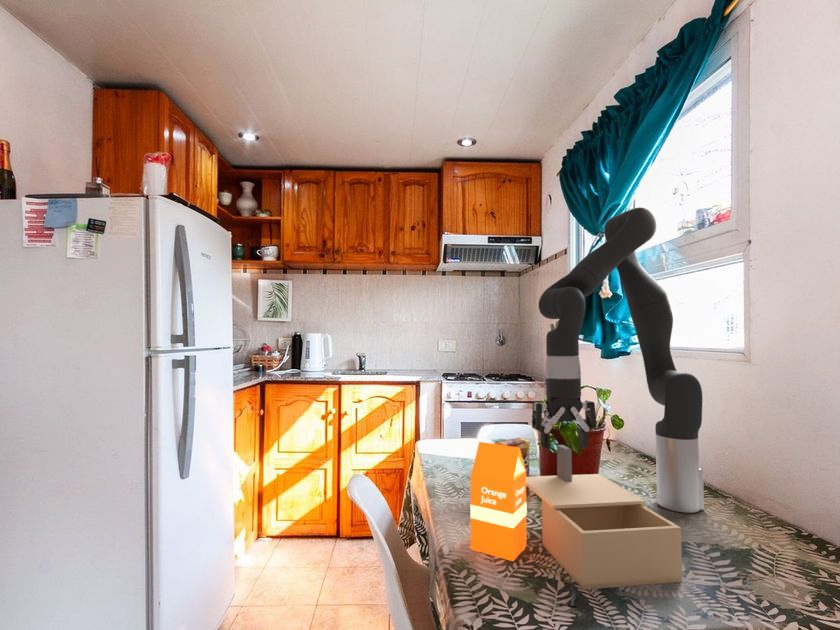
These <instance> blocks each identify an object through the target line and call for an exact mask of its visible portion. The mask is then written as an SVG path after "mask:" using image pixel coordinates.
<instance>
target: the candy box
mask: <svg viewBox="0 0 840 630" xmlns="http://www.w3.org/2000/svg"><path fill="white" fill-rule="evenodd" d="M494 444H498V445H505V446H512V447H519V448H520V452H521V455H522V459H523V462H524V466H525V470H526V477H530V451H531V450H530V448H531V447H530V446H531V445H530V440H528V439H526V438H520V437H517V438H511V439H505V440H499V441H498V440H496V441H494ZM529 500H530V488H529V487H527V486H526V502H528V501H529Z"/></svg>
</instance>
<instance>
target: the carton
mask: <svg viewBox="0 0 840 630" xmlns="http://www.w3.org/2000/svg"><path fill="white" fill-rule="evenodd" d="M541 536H542V537H541V543H542V544H541V545H542V546H543V547H544V548H545V549H546V551H548V552H549V554H550V555H551V556H552V557H553V558H554V559H555V560H556V561H557V562H558V564H559V565H560V567H562V568H563V569H564V570H565V571H566V573H568V575H569V576H570V577H571V578H572V579H573V580H574V581H575V583H576V584H577V585H578V586H579V587H580V588H581V590H594V589H608V588H619V587H620V588H621V587H633V586H645V585H646V586H647V585H658V584H660V585H661V584H670V583H672V584H673V583H674V584H675V583H683V567H682V566H683V563H682V562H683V561H682V555H683V554H682V527H681V526H679V525H677V524H675V523H674V522H672V521H671V520H669V519H667V518H665V517H663V516H661V515H660V514H658V513H657V512H656V511H653V510H652V509H650V508H648V507H646V506H645V505H644V504H636V505H616V506H596V507H576V508H556V509H553V508H552V507H550V506H549V505H548V504H547V503H546V502H545V501H544V500H542V499H541Z"/></svg>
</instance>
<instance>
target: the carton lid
mask: <svg viewBox="0 0 840 630" xmlns="http://www.w3.org/2000/svg"><path fill="white" fill-rule="evenodd" d="M572 455H573V453H572V449H571V448H570V447H568V446H566V445H564V444H557V445H556V466H557V467H556V472H557V475H540V476H539V475H538V476H537V475H535V476H529V477H526V486H527V487H529V490H531V491H532V492H533V493H535V495H537V496H538V497H539V498H540V499H541V501H542V500H544V501H545V502H546V503H547V504H548V505H549V506H550V507H552V508H553V509H556V508H576V507H596V506H616V505H636V504H641V505H646V504H647V501H646V500H645V499H643V498H642V497H640V496H638V495H636V494H634V493H632V492H631V491H629V490H628V489H625V488H623V487H622V486H621V485H618V484H617V483H615V482H613V481H611V480H609V479H608V478H606V477H604V476H602V475H601V474H599V473H593V474H592V473H590V474H586V473H585V474H573V465H572V464H573V462H572V460H573V459H572V457H573V456H572Z"/></svg>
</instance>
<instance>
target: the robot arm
mask: <svg viewBox="0 0 840 630" xmlns="http://www.w3.org/2000/svg"><path fill="white" fill-rule="evenodd" d="M657 225H658V224H657V219H656V217H655V215H654V214H653V212H652V211H651V210H650V209H648V208H645V207H634V208H631V209H629V210H625V211H623V212H622V213H619V214H617V215H615V216H613V217H610V218H609V219H608V220H607V221H606V222H605V225H604V230H603V231H604V238H605V242H604V243H603V244H601V245H600V246H598V247H597V248H596V249H594V250H593V251H591V252H590V253H588V254H587V255H585V257H583V258H582V259H581V260H580V261H578V263H577V264H576V266H574V267H573V268H572V269H571V270H570V272H569V273H568V274H566V275H565V276H564V277H562V278H560V279H559V280H557V281H556V282H555V283H553V284H552V285H549V287H548V288H546V289H545V290H544V291H543V293H542V294H541V295H540V298H539V301H538V310H539V313H540V314H541V315H542V316H543V317H544V318H546V319H548V320H558V322H557V326H556V328H554V329H552V330H550V331H548V332H547V334H546V337H545V338H546V339H545V340H546V341H545V344H546V353H545V354H546V360H545V394H546V401H545V402H537V401H533V403H532V411H531V412H532V414H531V416H532V417H531V428H532V429H534V430H536V431H539V432H540V445H541V447H542V448H543V449H544V450H545V451H551V434H550V432H551V429H552V428H553V426H556V424H557V422H558V423H565V422H568V423H569V422H570V423H572V422H573V423H574V424H575V425H576V426H577V428H578V429H579V430H578V431H577V434H578V447H579V448H581V449H583V450H584V449H587V447H588V446H589V431H590V430H593V429H596V428H597V426H598V425H597V415H596V405H595V402H594V401H592V400H584V401H582V399H581V396H582V381H581V380H582V372H581V371H582V370H581V362H580V355H579V354H580V346H579V345H580V344H579V341H580V340H579V337H580V333H581V331H582V330H581V329H582V325H583V322H584V318H585V313H586V307H587V306H586V299H585V297H588V296H590V295H591V294H592V293H593V292H594V291H595V290H596V289H597V288H598V287H599V286H600V285H601V284H602V282H604V280H605V279H606V278H607V277H608V276H609V275H610V274H611V273H612V272H613V271H614V270H615V269H616V270H617V272H618V276H619V278H620V281H621V285H622V288H623V291H624V295H625V298H626V301H627V307H628V310H629V313H630V318H631V321H632V323H633V326H634V330H635V335H636V337H637V341H638V345H639V348H640V352H641V355H642V360H643V364H644V365H643V367H644V372H645V377H646V383H647V388H648V392H649V394H650V396H651V397H652V399H653V401H655V402H656V403H657V404H659V405H662V406H664V409H663V410H664V414H663V418H662V419H661V420H658V421H656V423H655V425H654V427H655V429H654V431H655V457H656V458H655V459H656V460H655V463H656V464H655V465H656V467H655V468H656V503H657V504H658V506H660V507H662V508H664V509H667V510H669V511H673V512H679V513H685V514H687V513H689V514H694V513H698V512H700V511H702V510H705V496H704V492H705V491H704V470H703V469H702V468H700V454H699V453H700V452H699V450H700V449H699V431H700V429H701V427H702V423H703V389H702V386H701V383H700V381H699V379H698V378H697V377H696V376H694V375H693V374H692V373H689V372H686V371H685V372H684V371H678V370H677V368H676V365H675V363H674V360H673V356H672V353H671V340H672V339H671V338H672V332H673V325H674V317H673V316H674V315H673V312H672V308H671V305H670V301H669V298H668V294H667V291H665V289H664V288H663V286H662V285H661V284H660V282H658V281H657V280H656V278H655V279H654V277H653V276H652V275H650V273H648V272H647V271H646V269H645V268H644V267H643V266H642V264H641V262H640V261H639V258H638V255H637V252H636V251H637V250H638V249H639V248H640V247H642V246H643V245H645V244H646V243H647V242H649V241H650V240H652V238H653V237H654V236H655V234H656V232H657ZM545 409H546V412H547V414H546V416H544V419H543V413H544V411H545ZM582 409H583V411H584V417H585V420H584V418H583V417H582V415H581V414H580V412H581V411H582ZM542 419H543V421H542Z"/></svg>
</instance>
